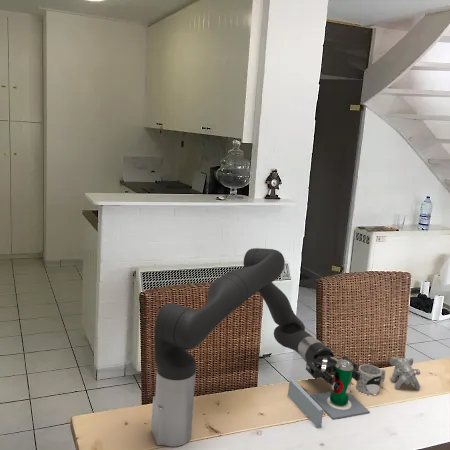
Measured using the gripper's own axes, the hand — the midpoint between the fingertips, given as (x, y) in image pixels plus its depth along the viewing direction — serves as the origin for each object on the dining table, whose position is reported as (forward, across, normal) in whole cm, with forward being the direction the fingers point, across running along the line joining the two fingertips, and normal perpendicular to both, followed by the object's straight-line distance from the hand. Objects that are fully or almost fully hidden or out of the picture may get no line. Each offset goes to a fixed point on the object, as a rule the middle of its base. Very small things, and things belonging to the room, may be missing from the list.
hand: (346, 379), depth 139 cm
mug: (-7, +15, +9) cm, 19 cm away
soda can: (-2, 0, +8) cm, 8 cm away
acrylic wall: (-2, -12, +8) cm, 14 cm away
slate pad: (-2, 0, +8) cm, 9 cm away
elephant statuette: (-8, +27, +9) cm, 29 cm away
